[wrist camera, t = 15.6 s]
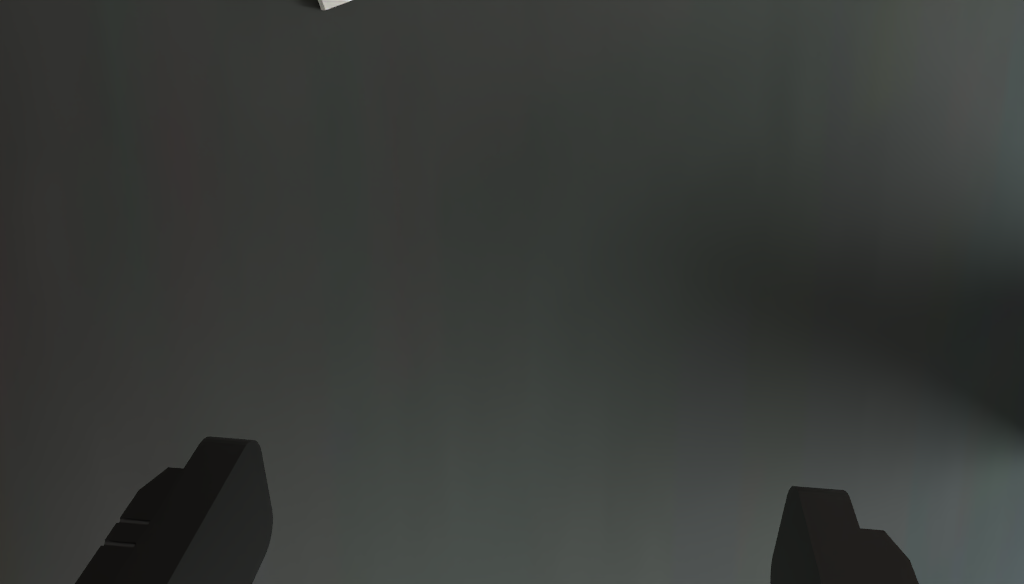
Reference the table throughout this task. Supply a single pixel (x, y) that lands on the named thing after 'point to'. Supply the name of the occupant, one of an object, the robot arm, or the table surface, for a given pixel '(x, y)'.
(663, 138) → the table surface
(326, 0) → the white mat
